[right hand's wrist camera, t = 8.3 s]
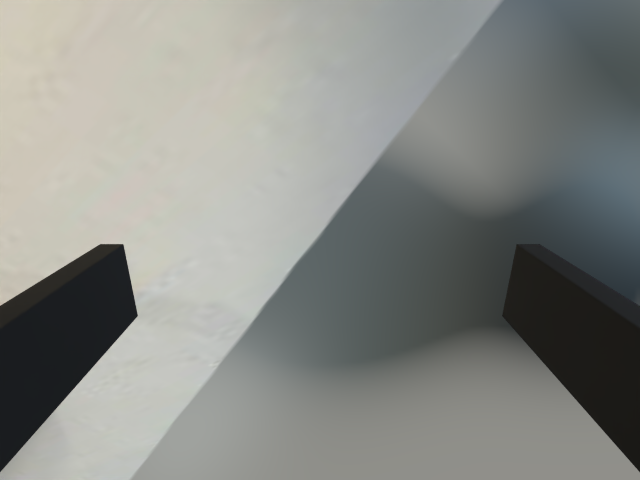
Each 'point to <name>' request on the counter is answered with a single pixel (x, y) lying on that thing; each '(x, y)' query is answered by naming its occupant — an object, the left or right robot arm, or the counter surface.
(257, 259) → the counter surface
